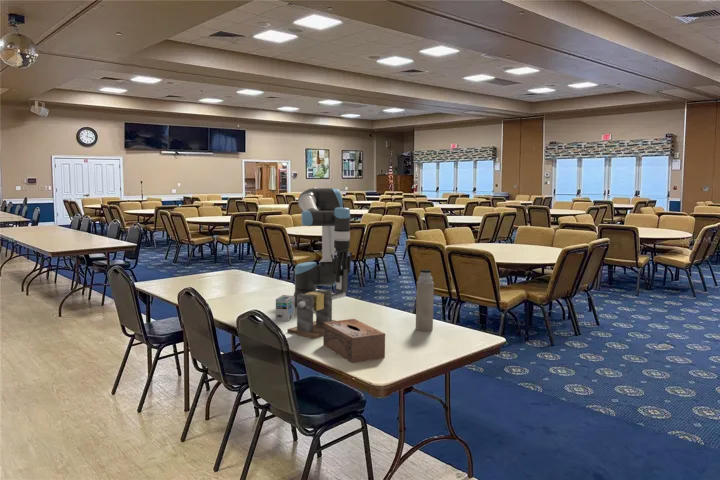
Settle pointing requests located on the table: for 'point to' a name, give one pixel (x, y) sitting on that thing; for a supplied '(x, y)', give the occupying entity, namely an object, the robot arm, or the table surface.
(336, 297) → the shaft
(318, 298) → the block
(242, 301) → the table surface
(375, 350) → the tissue box cover
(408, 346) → the table surface
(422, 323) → the thermos bottle
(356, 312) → the table surface
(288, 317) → the light bulb box
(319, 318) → the shaft stand
